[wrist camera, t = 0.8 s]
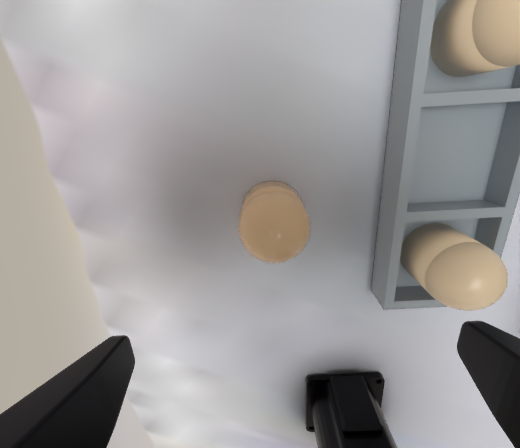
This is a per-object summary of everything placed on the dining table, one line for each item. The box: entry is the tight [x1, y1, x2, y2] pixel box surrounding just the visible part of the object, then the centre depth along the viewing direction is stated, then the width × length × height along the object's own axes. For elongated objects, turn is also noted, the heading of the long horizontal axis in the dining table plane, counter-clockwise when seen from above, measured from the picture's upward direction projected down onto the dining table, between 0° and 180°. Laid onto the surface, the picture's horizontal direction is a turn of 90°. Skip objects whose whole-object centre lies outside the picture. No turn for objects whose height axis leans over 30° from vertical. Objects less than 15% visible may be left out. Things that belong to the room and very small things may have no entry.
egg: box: [238, 181, 310, 263], centre depth 16 cm, size 4×4×5 cm
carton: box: [371, 0, 520, 310], centre depth 14 cm, size 19×7×6 cm, turn 3°
